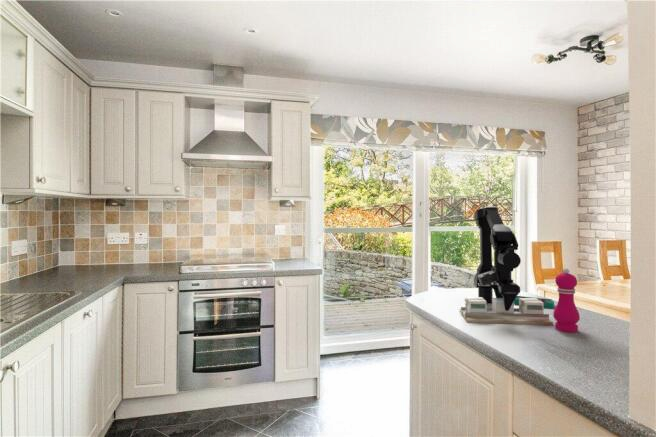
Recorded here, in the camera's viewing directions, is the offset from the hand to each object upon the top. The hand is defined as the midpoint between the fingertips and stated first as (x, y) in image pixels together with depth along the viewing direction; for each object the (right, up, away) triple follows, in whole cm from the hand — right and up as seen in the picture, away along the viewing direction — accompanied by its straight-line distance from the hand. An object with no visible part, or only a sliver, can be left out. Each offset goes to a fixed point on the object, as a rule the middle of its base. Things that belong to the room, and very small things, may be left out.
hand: (502, 307), depth 135 cm
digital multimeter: (+21, -4, +18) cm, 28 cm away
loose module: (0, -2, 0) cm, 2 cm away
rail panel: (0, -4, 0) cm, 4 cm away
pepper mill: (+14, -4, -14) cm, 20 cm away
